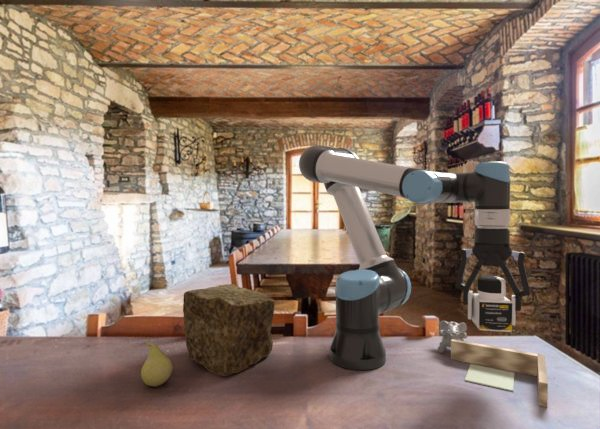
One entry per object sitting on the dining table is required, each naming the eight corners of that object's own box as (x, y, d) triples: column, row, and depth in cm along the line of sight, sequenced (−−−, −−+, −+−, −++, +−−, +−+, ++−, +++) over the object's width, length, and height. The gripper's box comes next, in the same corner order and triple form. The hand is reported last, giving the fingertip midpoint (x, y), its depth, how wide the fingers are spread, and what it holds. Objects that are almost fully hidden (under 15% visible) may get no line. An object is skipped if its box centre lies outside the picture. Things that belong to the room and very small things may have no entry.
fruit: (178, 380, 90) (177, 331, 90) (156, 395, 83) (155, 342, 83) (155, 376, 93) (154, 328, 92) (132, 391, 86) (131, 339, 85)
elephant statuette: (441, 358, 103) (442, 331, 102) (428, 339, 115) (429, 315, 114) (475, 359, 102) (476, 331, 102) (459, 340, 114) (460, 315, 114)
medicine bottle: (479, 330, 87) (479, 279, 87) (471, 320, 94) (471, 273, 94) (512, 332, 86) (513, 280, 85) (502, 322, 93) (502, 274, 92)
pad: (464, 380, 89) (464, 379, 89) (470, 364, 98) (470, 363, 98) (513, 391, 84) (513, 390, 84) (514, 373, 92) (514, 372, 92)
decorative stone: (226, 276, 116) (281, 283, 106) (226, 340, 116) (280, 354, 107) (172, 288, 97) (231, 299, 88) (172, 365, 98) (231, 384, 88)
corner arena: (439, 382, 88) (439, 361, 88) (451, 357, 103) (451, 339, 102) (547, 407, 77) (547, 383, 77) (544, 375, 92) (544, 355, 91)
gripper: (441, 226, 92) (441, 318, 93) (545, 229, 81) (544, 333, 81) (447, 225, 98) (447, 310, 99) (544, 227, 87) (543, 323, 88)
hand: (491, 320), depth 90 cm, fingers closed on medicine bottle, 9 cm apart
